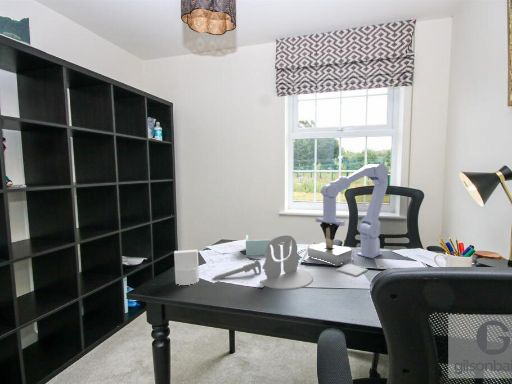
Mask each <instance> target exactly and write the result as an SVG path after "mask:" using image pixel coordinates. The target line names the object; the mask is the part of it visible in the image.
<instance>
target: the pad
mask: <svg viewBox="0 0 512 384" xmlns="http://www.w3.org/2000/svg"><path fill="white" fill-rule="evenodd" d="M367 271H368V268H364V267H361V266H357V265H355V264H354V265H353V264H351V263H347V264H343V266H342V265H341V266H340V267H338V268H336V272H340V273H344V274H347V275H349V276H353V277H358V276H360V275H362V274H364V273H366V272H367Z"/></svg>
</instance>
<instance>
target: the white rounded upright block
mask: <svg viewBox="0 0 512 384" xmlns="http://www.w3.org/2000/svg"><path fill="white" fill-rule="evenodd" d="M173 256H174V258H173V259H174V274H175V275H174V277H175V278H174V279H175V280H174V281H175V285H177V284H179V285H178V286H180V285H189V286H191V285H190V284H193V285H195V284H197V283H199V281H200V273H199V272H200V269H199V268H200V267H199V250H198V249H186V250H185V249H184V250H182V249H181V250H174V252H173ZM196 282H197V283H196ZM194 283H195V284H194Z"/></svg>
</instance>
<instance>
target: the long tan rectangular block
mask: <svg viewBox="0 0 512 384" xmlns="http://www.w3.org/2000/svg"><path fill="white" fill-rule="evenodd" d="M325 243H326V247H328V248H332V247H333V245H334V239H333V240H331V239H330V229H329V227H328V228H326V239H325Z"/></svg>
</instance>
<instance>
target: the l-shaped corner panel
mask: <svg viewBox="0 0 512 384" xmlns="http://www.w3.org/2000/svg"><path fill="white" fill-rule="evenodd" d="M270 241H271V240H270V239H249V234H246V235H245V255H246V256H265V252H266V248H267V246H268V244H269V242H270Z"/></svg>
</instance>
